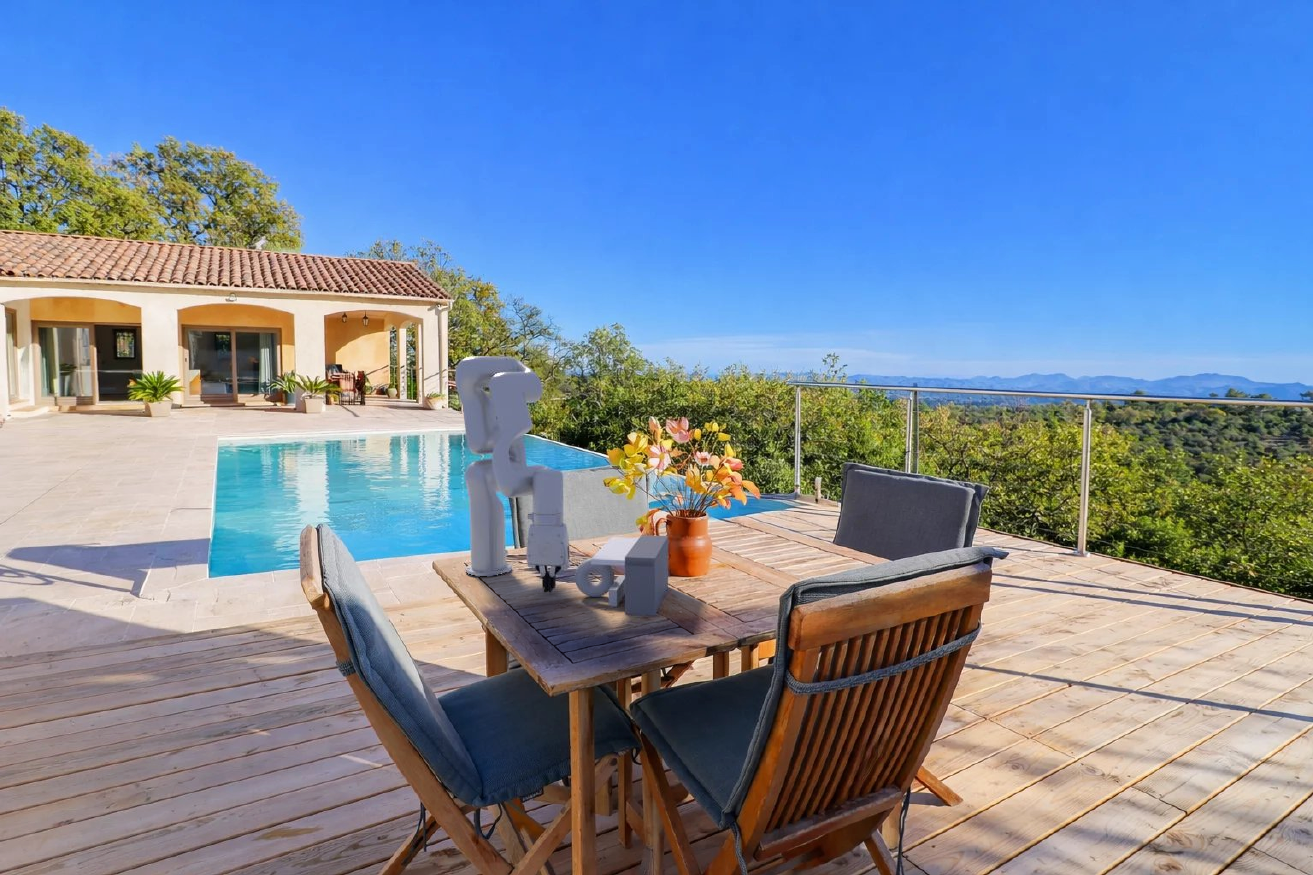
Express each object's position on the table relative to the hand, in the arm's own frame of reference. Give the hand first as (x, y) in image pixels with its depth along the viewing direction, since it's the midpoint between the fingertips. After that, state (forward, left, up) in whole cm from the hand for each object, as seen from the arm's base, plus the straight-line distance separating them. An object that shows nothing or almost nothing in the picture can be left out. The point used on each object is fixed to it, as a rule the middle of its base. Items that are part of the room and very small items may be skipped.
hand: (549, 590), depth 178 cm
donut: (0, +12, -1) cm, 12 cm away
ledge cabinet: (0, +21, -1) cm, 21 cm away
